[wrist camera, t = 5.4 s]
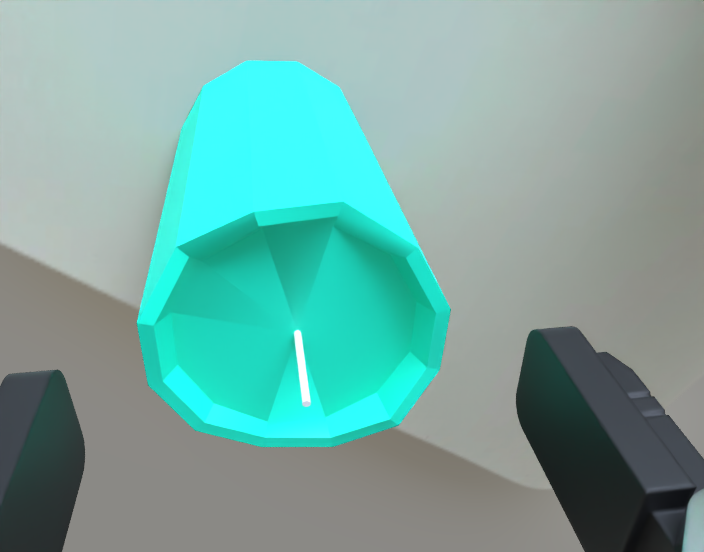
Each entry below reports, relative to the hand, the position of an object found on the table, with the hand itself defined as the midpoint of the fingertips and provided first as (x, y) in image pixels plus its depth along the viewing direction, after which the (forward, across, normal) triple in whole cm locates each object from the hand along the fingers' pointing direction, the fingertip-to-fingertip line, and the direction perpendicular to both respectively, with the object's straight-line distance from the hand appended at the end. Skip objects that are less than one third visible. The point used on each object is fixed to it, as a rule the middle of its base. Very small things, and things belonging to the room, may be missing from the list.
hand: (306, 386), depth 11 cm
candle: (+12, 0, 0) cm, 12 cm away
